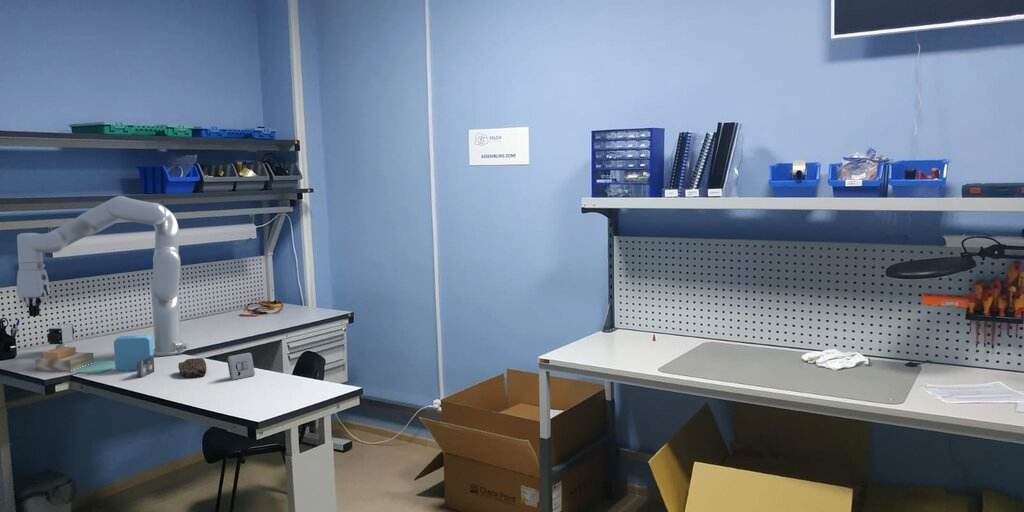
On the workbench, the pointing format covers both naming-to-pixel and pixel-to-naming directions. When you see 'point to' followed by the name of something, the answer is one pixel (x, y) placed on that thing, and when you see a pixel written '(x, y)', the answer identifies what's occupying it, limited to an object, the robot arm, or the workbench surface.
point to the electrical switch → (240, 366)
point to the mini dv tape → (145, 366)
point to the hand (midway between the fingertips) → (34, 315)
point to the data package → (132, 351)
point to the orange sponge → (59, 352)
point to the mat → (95, 367)
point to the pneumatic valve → (60, 334)
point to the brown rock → (193, 367)
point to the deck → (65, 362)
